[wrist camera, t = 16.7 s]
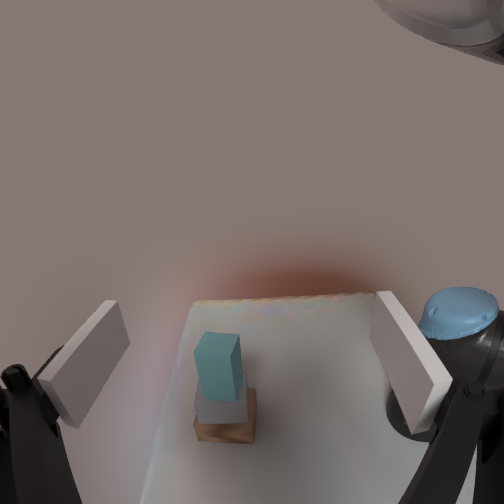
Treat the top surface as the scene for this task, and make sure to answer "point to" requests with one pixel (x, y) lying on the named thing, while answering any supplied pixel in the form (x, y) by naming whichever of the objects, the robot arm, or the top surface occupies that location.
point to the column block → (219, 366)
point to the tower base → (230, 427)
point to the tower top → (222, 407)
